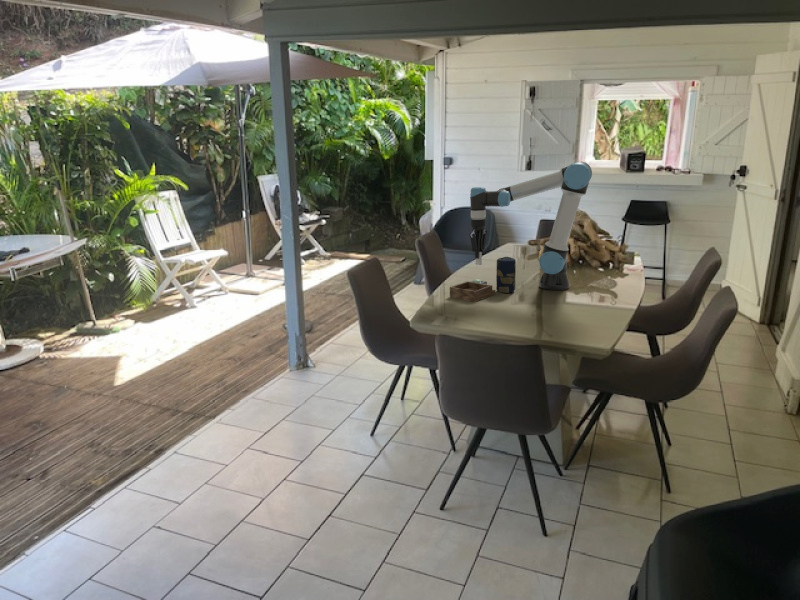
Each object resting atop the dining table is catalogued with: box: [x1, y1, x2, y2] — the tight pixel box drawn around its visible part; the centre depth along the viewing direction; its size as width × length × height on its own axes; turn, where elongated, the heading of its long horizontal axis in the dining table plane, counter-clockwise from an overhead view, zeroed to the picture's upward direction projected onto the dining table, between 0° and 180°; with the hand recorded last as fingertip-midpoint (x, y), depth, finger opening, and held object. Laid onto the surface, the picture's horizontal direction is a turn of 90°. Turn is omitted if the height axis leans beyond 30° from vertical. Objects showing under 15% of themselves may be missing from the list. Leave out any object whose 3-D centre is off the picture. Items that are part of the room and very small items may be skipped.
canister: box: [495, 256, 517, 294], centre depth 306 cm, size 10×10×18 cm
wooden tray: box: [449, 280, 497, 303], centre depth 302 cm, size 15×18×5 cm
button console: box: [469, 279, 488, 285], centre depth 316 cm, size 7×7×4 cm
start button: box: [474, 278, 482, 283], centre depth 315 cm, size 4×4×4 cm
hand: (478, 264), depth 313 cm, fingers closed
